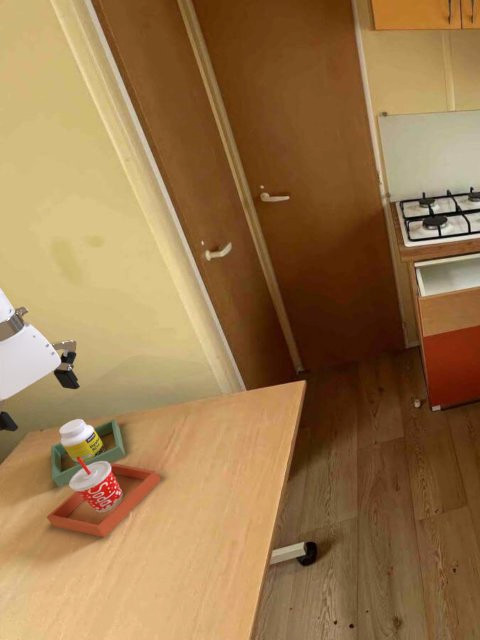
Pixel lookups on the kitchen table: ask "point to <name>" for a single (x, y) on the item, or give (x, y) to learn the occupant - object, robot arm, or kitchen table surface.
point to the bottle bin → (108, 456)
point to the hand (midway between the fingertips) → (42, 407)
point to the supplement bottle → (81, 440)
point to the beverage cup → (97, 485)
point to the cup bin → (116, 515)
